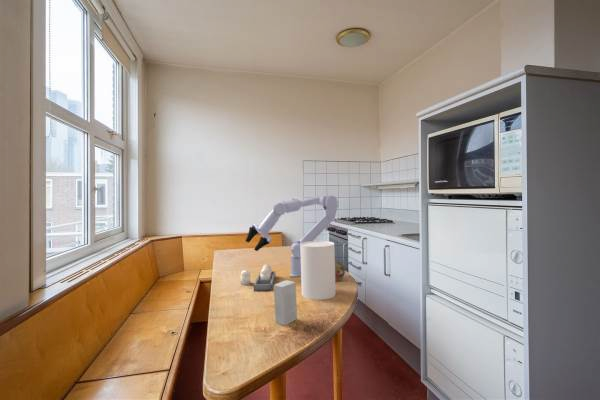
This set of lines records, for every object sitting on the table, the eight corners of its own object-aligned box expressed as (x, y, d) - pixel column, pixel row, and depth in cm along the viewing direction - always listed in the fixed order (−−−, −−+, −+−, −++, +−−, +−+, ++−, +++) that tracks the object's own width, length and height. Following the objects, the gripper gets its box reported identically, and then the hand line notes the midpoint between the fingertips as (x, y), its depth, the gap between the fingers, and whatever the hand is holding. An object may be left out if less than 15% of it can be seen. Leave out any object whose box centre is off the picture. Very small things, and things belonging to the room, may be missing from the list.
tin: (312, 280, 133) (311, 262, 133) (313, 278, 136) (313, 260, 136) (344, 282, 129) (344, 263, 128) (345, 279, 132) (345, 261, 132)
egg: (251, 282, 132) (250, 268, 132) (249, 285, 128) (249, 271, 128) (241, 282, 132) (241, 269, 132) (239, 285, 128) (239, 271, 128)
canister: (334, 300, 106) (332, 246, 106) (298, 299, 109) (297, 246, 109) (336, 288, 120) (335, 241, 119) (305, 287, 122) (303, 240, 122)
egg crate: (275, 276, 141) (275, 262, 141) (271, 290, 120) (271, 274, 120) (260, 276, 141) (260, 262, 141) (253, 290, 120) (253, 274, 120)
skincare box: (287, 316, 94) (286, 279, 94) (297, 319, 91) (296, 281, 91) (274, 322, 89) (273, 284, 89) (284, 326, 87) (283, 287, 86)
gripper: (255, 213, 141) (238, 235, 141) (272, 228, 133) (254, 252, 132) (263, 218, 147) (246, 239, 146) (280, 233, 138) (263, 255, 138)
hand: (251, 245), depth 140 cm, fingers open, 7 cm apart
